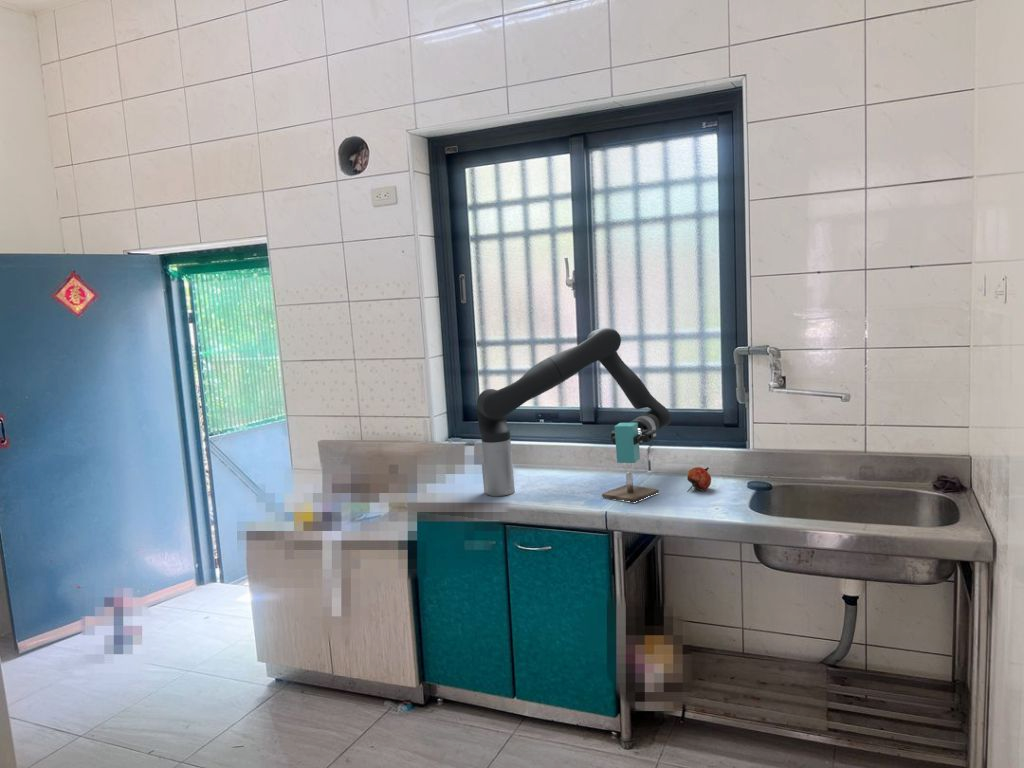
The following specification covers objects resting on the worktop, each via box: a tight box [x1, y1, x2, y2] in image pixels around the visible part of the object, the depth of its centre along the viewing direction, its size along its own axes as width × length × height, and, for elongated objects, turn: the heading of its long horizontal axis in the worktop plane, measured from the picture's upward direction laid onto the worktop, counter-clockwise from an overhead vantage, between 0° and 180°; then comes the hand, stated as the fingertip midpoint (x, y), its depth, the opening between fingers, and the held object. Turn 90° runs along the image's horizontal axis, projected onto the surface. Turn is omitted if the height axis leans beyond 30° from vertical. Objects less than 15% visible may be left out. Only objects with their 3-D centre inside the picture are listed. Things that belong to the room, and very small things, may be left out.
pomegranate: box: [686, 466, 712, 493], centre depth 217 cm, size 7×7×10 cm
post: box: [625, 471, 634, 493], centre depth 217 cm, size 2×2×6 cm
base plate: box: [601, 484, 660, 502], centre depth 218 cm, size 12×12×1 cm
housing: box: [614, 422, 641, 464], centre depth 216 cm, size 5×5×11 cm
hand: (624, 441), depth 213 cm, fingers closed on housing, 5 cm apart
